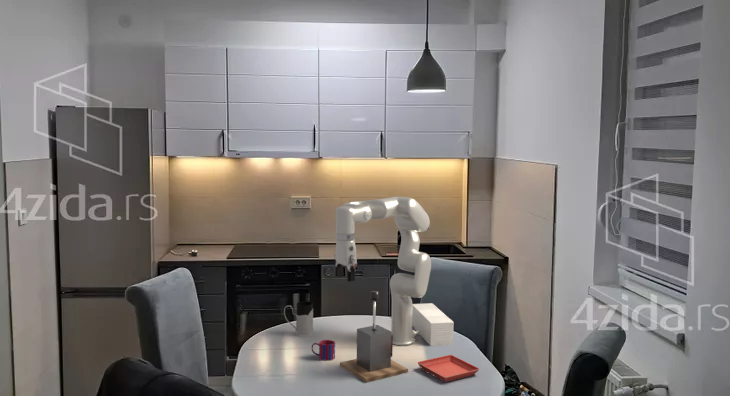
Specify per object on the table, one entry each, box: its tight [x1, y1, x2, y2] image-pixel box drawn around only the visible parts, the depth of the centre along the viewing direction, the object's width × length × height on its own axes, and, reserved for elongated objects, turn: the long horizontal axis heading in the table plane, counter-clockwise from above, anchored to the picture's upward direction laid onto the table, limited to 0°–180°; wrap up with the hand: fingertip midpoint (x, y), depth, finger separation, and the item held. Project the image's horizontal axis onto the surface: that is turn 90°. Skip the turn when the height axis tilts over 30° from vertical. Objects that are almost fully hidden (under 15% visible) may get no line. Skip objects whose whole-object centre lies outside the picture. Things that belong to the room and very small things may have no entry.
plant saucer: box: [417, 354, 480, 383], centre depth 251 cm, size 18×18×3 cm
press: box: [356, 324, 394, 372], centre depth 253 cm, size 13×10×15 cm
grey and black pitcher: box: [283, 300, 315, 338], centre depth 295 cm, size 9×14×15 cm, turn 89°
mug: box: [311, 339, 336, 362], centre depth 266 cm, size 7×10×7 cm
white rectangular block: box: [412, 302, 455, 347], centre depth 298 cm, size 32×11×11 cm, turn 11°
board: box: [339, 358, 409, 383], centre depth 253 cm, size 20×20×2 cm
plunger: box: [370, 290, 380, 331], centre depth 251 cm, size 8×8×21 cm
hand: (345, 278), depth 255 cm, fingers open, 9 cm apart
